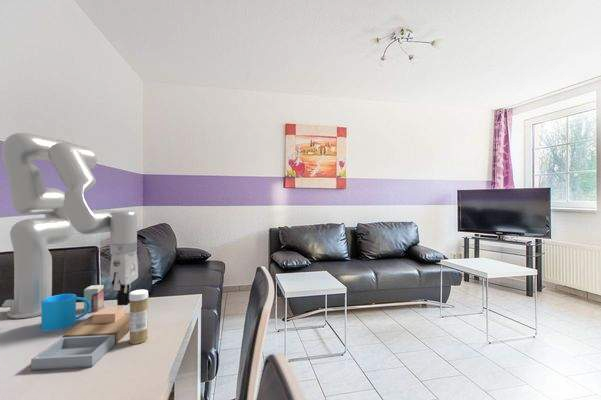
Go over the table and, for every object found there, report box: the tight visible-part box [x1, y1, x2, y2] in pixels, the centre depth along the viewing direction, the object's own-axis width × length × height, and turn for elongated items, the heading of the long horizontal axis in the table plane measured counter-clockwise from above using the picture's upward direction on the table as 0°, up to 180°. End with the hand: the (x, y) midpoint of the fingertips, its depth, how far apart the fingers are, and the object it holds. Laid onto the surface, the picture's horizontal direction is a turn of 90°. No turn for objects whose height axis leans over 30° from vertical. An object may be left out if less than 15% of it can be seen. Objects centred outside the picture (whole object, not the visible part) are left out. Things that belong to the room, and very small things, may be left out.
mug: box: [40, 293, 91, 332], centre depth 91 cm, size 12×8×8 cm
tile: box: [92, 305, 126, 323], centre depth 87 cm, size 6×6×2 cm
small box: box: [83, 284, 105, 313], centre depth 102 cm, size 5×4×8 cm
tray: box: [30, 335, 116, 372], centre depth 72 cm, size 13×11×3 cm
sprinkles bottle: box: [128, 289, 149, 345], centre depth 80 cm, size 5×5×14 cm
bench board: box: [62, 312, 130, 345], centre depth 84 cm, size 13×14×3 cm
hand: (123, 304), depth 96 cm, fingers closed
